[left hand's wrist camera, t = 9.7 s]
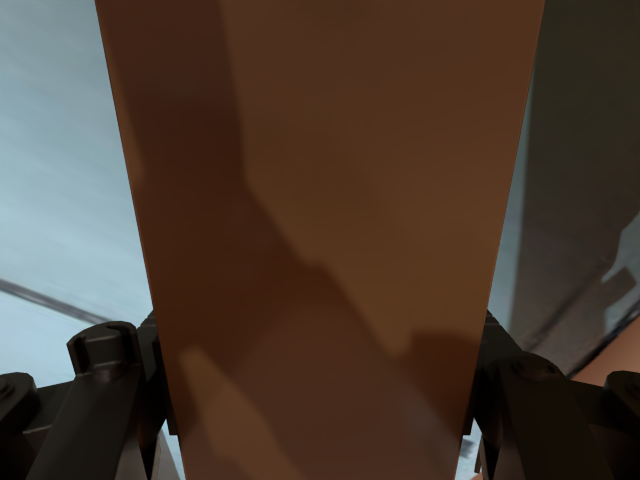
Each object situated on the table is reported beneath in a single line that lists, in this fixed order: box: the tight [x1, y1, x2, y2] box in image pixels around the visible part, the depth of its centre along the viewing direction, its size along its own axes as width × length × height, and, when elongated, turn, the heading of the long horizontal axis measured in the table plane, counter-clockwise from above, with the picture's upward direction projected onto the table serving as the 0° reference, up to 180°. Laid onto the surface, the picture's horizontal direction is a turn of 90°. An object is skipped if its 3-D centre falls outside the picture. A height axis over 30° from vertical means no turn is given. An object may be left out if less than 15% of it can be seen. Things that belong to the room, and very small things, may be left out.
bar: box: [95, 0, 546, 480], centre depth 8 cm, size 23×6×8 cm, turn 0°
